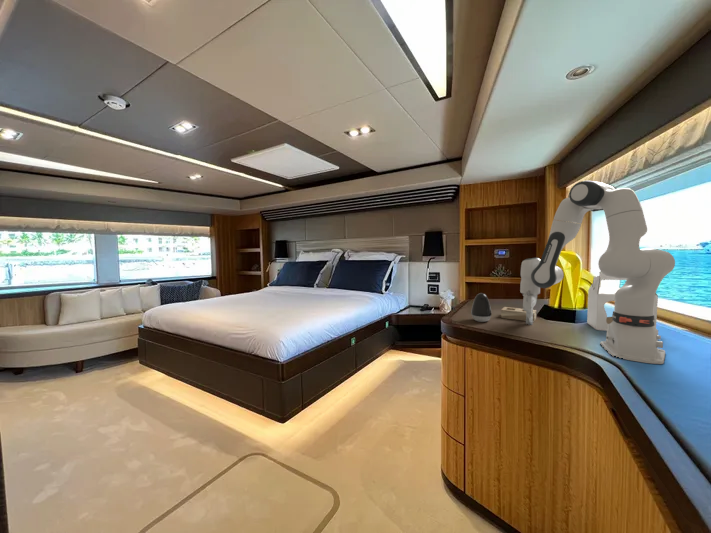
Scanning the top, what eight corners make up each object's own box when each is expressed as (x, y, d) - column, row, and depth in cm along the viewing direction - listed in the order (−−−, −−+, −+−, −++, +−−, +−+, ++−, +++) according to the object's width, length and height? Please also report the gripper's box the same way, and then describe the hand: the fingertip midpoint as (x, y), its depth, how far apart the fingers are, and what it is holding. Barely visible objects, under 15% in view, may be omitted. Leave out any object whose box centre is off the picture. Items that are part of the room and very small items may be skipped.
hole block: (534, 321, 159) (534, 313, 159) (501, 317, 169) (501, 309, 168) (536, 318, 166) (536, 310, 166) (504, 314, 176) (504, 306, 176)
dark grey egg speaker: (471, 322, 160) (472, 294, 159) (470, 318, 170) (470, 291, 168) (492, 323, 157) (493, 295, 156) (490, 319, 167) (490, 291, 166)
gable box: (642, 326, 147) (645, 269, 144) (656, 334, 134) (660, 272, 132) (586, 323, 155) (588, 268, 153) (595, 330, 143) (597, 271, 141)
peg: (532, 325, 153) (532, 305, 152) (525, 324, 155) (525, 305, 154) (532, 323, 155) (533, 304, 154) (526, 323, 157) (526, 304, 156)
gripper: (534, 293, 143) (534, 321, 144) (539, 287, 160) (538, 313, 161) (519, 292, 147) (519, 319, 148) (525, 286, 163) (525, 311, 165)
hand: (529, 316), depth 155 cm, fingers closed on peg, 3 cm apart
